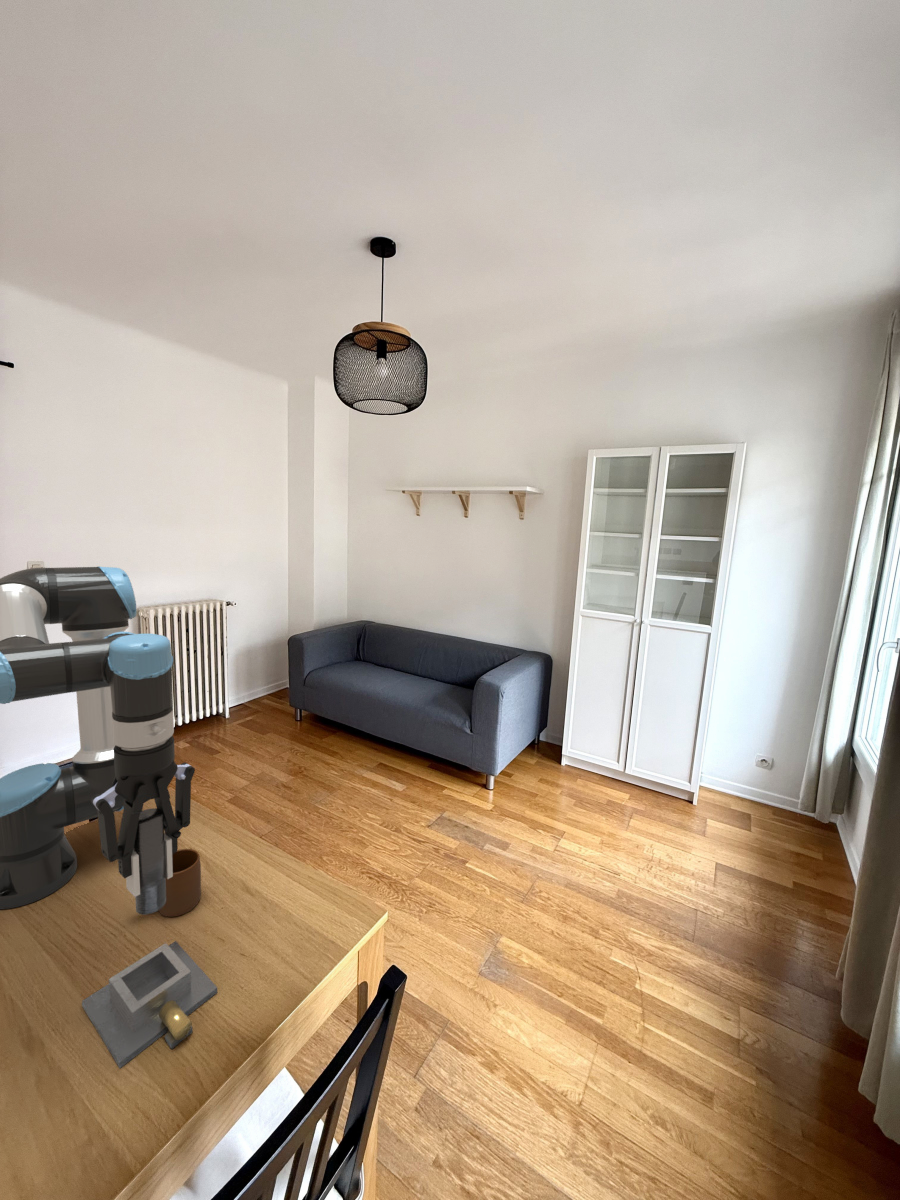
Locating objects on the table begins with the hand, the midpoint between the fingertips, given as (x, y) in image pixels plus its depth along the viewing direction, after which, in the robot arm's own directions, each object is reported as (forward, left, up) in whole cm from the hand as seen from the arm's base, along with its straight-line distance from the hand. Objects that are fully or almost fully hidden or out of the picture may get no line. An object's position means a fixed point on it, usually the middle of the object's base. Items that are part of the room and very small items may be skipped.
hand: (150, 882), depth 73 cm
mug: (-17, +10, -21) cm, 28 cm away
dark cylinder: (0, 0, -4) cm, 4 cm away
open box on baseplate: (+2, 0, -21) cm, 21 cm away
